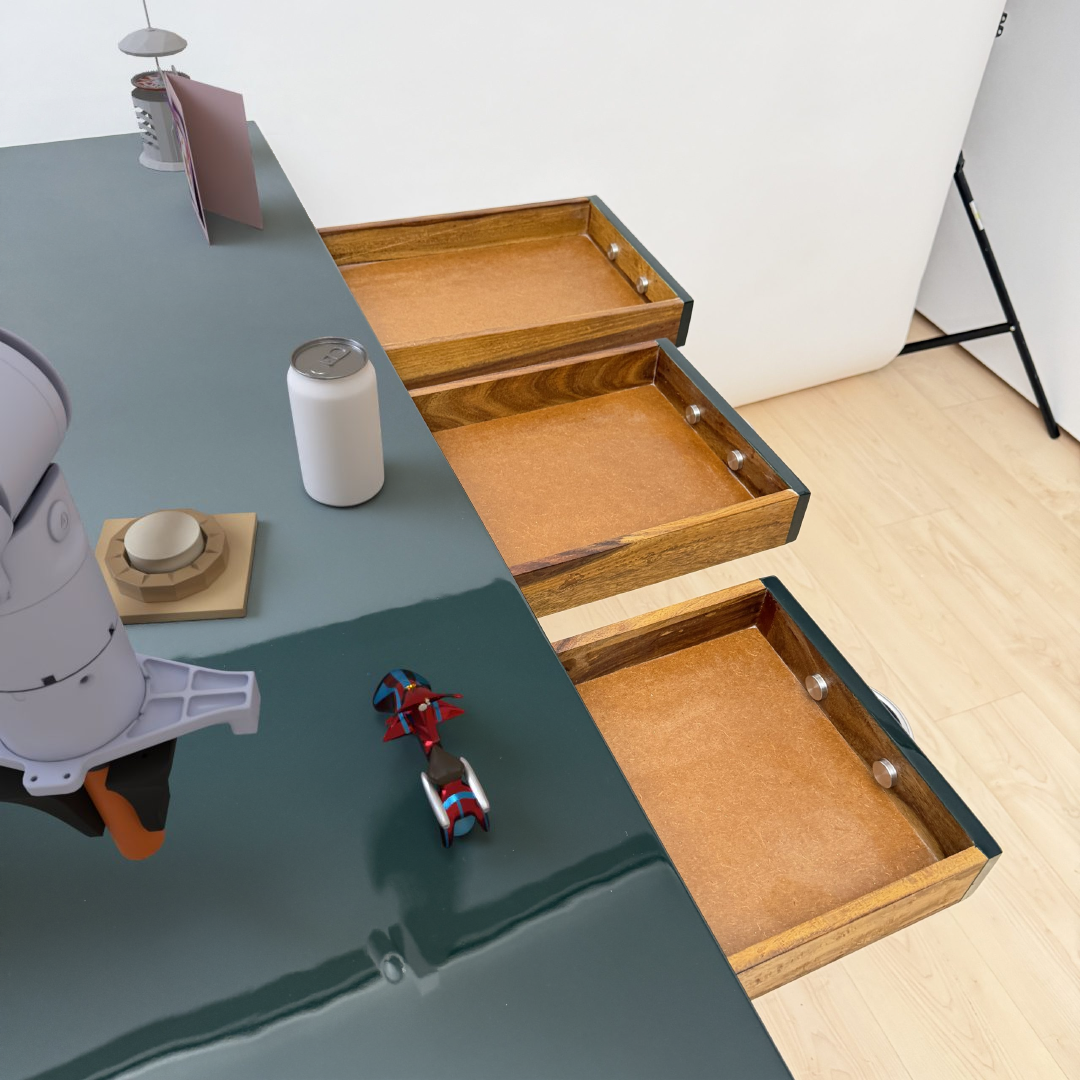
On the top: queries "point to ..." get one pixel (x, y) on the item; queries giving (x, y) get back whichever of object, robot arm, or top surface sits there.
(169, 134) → the french press
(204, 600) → the button housing
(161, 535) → the circle pad
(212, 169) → the greeting card
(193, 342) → the top surface
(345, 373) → the can
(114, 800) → the marker
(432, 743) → the hoverbike
